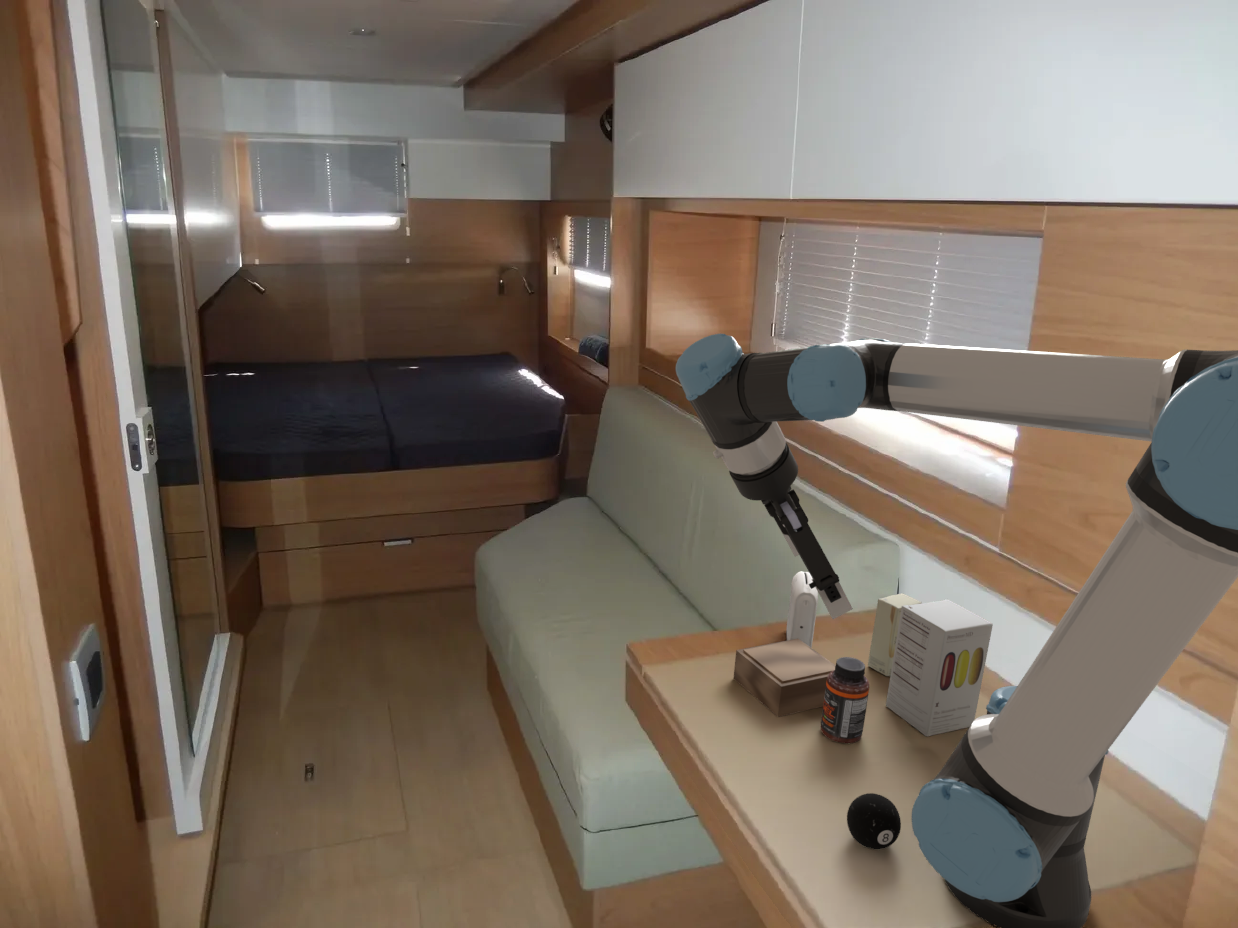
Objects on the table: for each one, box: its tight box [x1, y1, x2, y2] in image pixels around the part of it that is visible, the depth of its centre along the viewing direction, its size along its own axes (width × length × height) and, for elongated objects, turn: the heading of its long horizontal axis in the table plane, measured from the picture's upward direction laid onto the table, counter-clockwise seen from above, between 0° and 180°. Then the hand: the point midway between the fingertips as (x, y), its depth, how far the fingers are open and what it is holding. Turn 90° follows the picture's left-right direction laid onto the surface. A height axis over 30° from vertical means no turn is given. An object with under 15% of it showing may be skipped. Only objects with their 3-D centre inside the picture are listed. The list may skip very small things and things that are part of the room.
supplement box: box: [885, 598, 993, 737], centre depth 132 cm, size 10×9×17 cm
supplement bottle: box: [820, 656, 870, 745], centre depth 126 cm, size 6×6×11 cm
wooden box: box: [733, 639, 836, 717], centre depth 138 cm, size 12×12×5 cm
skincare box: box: [867, 592, 923, 677], centre depth 147 cm, size 6×4×12 cm
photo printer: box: [786, 570, 819, 649], centre depth 154 cm, size 10×4×12 cm, turn 171°
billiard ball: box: [846, 792, 902, 851], centre depth 105 cm, size 6×6×6 cm
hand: (821, 580), depth 114 cm, fingers open, 13 cm apart
